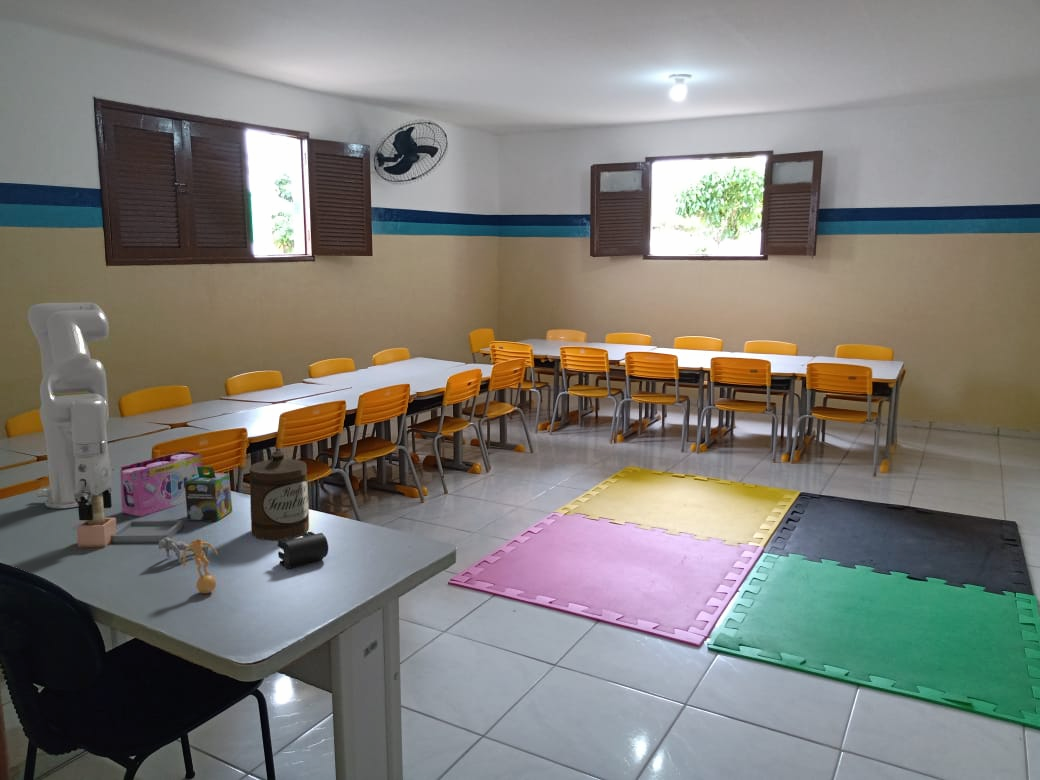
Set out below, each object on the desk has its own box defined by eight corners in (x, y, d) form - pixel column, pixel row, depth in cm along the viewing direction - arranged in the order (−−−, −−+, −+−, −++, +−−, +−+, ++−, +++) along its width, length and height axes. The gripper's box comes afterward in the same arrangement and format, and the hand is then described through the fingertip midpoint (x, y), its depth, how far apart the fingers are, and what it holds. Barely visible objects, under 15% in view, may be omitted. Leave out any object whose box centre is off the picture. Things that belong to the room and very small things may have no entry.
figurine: (195, 601, 165) (192, 547, 163) (178, 594, 168) (175, 541, 167) (228, 588, 172) (226, 536, 170) (211, 582, 175) (209, 531, 173)
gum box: (136, 518, 218) (133, 471, 216) (117, 514, 221) (113, 468, 219) (204, 496, 239) (201, 453, 237) (185, 492, 242) (183, 450, 240)
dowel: (87, 542, 197) (82, 485, 194) (94, 537, 200) (89, 481, 198) (101, 542, 197) (97, 485, 195) (108, 537, 201) (104, 481, 198)
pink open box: (78, 547, 195) (76, 526, 194) (91, 538, 202) (89, 517, 201) (105, 547, 196) (103, 526, 195) (117, 538, 202) (115, 517, 201)
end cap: (290, 573, 181) (289, 545, 180) (276, 564, 186) (275, 537, 185) (329, 562, 188) (328, 535, 187) (315, 554, 193) (314, 528, 192)
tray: (110, 542, 199) (109, 535, 199) (130, 526, 211) (130, 520, 210) (166, 542, 200) (165, 535, 199) (183, 526, 212) (183, 520, 211)
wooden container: (273, 544, 199) (270, 461, 195) (240, 532, 208) (236, 452, 204) (320, 529, 211) (318, 450, 207) (286, 518, 219) (284, 442, 216)
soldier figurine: (193, 560, 194) (147, 556, 185) (199, 539, 195) (154, 534, 186) (207, 566, 191) (161, 563, 181) (213, 544, 191) (167, 540, 182)
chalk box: (232, 511, 225) (230, 461, 222) (217, 522, 216) (214, 470, 213) (202, 510, 226) (199, 460, 223) (185, 520, 217) (182, 469, 214)
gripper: (89, 456, 186) (94, 524, 189) (121, 440, 203) (126, 503, 206) (56, 456, 186) (62, 525, 189) (92, 440, 203) (97, 503, 206)
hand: (95, 513), depth 197 cm, fingers open, 9 cm apart
